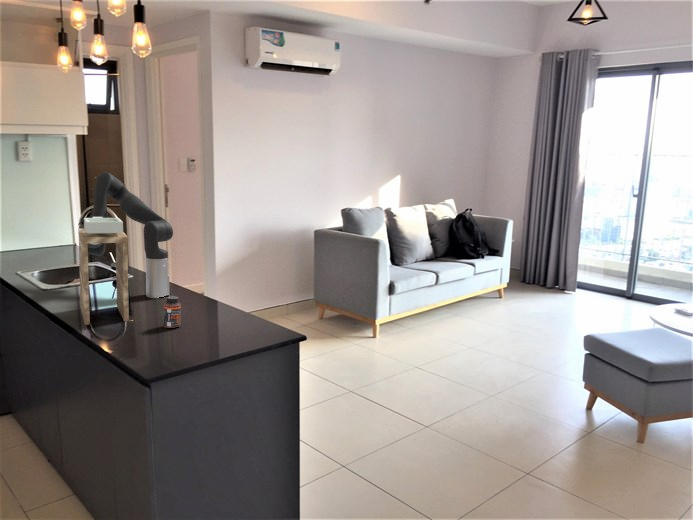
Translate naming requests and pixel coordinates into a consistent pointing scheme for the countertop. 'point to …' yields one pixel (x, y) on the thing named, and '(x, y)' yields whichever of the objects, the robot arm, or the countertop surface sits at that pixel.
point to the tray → (103, 225)
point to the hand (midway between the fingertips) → (97, 217)
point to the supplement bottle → (172, 312)
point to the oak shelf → (121, 269)
